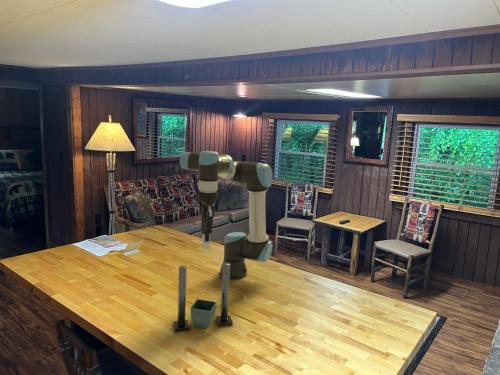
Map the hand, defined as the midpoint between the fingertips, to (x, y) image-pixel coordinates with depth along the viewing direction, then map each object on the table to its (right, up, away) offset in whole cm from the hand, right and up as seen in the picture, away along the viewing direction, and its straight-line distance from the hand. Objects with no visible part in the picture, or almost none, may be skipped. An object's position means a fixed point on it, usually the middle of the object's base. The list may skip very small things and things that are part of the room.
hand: (205, 248), depth 156 cm
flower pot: (-2, -33, +5) cm, 33 cm away
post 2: (+7, -33, +8) cm, 34 cm away
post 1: (-10, -33, +3) cm, 34 cm away
